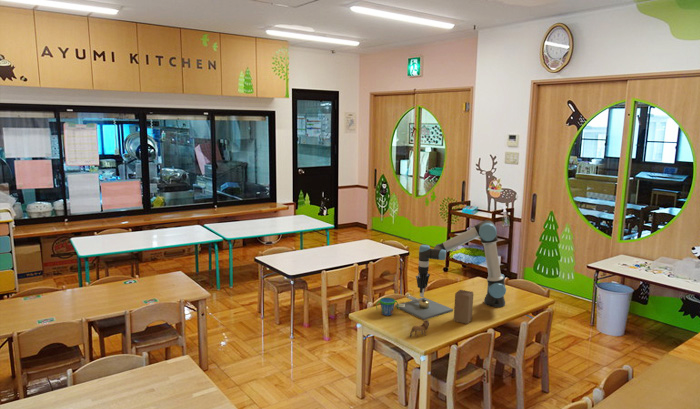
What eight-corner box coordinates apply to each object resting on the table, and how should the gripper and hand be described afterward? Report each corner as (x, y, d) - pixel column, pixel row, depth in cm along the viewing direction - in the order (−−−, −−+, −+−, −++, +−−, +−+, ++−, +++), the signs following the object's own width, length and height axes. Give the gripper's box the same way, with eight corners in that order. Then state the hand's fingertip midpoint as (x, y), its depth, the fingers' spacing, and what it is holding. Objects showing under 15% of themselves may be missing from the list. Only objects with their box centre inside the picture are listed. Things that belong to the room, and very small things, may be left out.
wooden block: (467, 324, 328) (469, 296, 324) (453, 321, 333) (454, 293, 330) (472, 319, 336) (474, 291, 333) (458, 316, 341) (459, 289, 338)
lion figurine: (425, 331, 316) (426, 318, 314) (430, 334, 311) (431, 320, 310) (407, 336, 308) (407, 322, 307) (412, 339, 304) (413, 325, 302)
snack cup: (376, 316, 338) (376, 302, 337) (375, 310, 349) (376, 297, 347) (398, 317, 338) (399, 302, 337) (397, 311, 349) (398, 297, 347)
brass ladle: (430, 307, 353) (431, 299, 352) (423, 309, 349) (424, 301, 348) (410, 298, 370) (410, 291, 369) (403, 300, 366) (403, 293, 365)
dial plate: (452, 311, 351) (452, 308, 351) (422, 320, 333) (422, 318, 333) (422, 298, 375) (422, 296, 375) (393, 306, 357) (393, 304, 357)
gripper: (426, 263, 369) (424, 293, 373) (413, 265, 361) (411, 296, 365) (433, 265, 363) (431, 296, 367) (420, 268, 355) (419, 299, 359)
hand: (421, 296), depth 366 cm, fingers closed
